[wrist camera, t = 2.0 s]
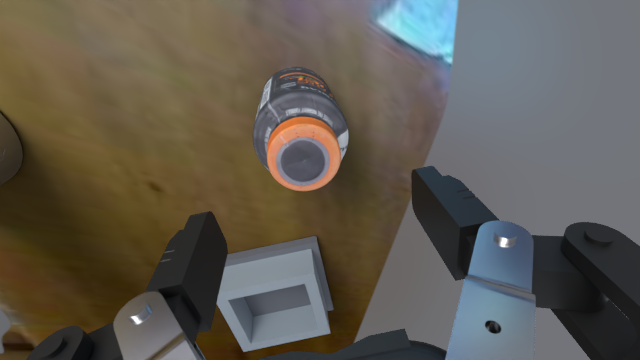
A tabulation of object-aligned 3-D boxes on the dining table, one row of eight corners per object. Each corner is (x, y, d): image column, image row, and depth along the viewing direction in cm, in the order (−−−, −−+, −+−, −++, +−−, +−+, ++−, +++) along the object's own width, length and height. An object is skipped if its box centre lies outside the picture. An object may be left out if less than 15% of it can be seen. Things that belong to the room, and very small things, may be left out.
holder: (243, 322, 39) (239, 356, 35) (210, 258, 33) (200, 291, 29) (332, 303, 39) (338, 335, 36) (316, 235, 33) (320, 266, 29)
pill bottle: (342, 85, 25) (381, 135, 15) (312, 144, 28) (329, 220, 18) (276, 52, 23) (273, 86, 14) (250, 119, 26) (232, 188, 16)
